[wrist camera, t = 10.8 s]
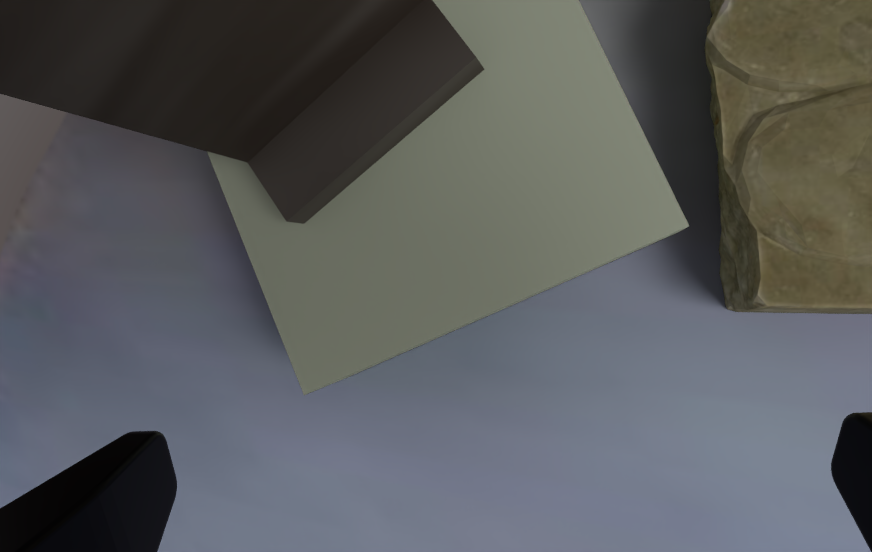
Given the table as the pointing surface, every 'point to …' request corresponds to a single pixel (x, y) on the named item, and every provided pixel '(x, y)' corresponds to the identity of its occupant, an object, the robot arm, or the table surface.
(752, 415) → the table surface
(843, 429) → the robot arm
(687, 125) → the table surface
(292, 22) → the dark photo frame
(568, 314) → the table surface
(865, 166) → the decorative tile
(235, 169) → the picture ledge
